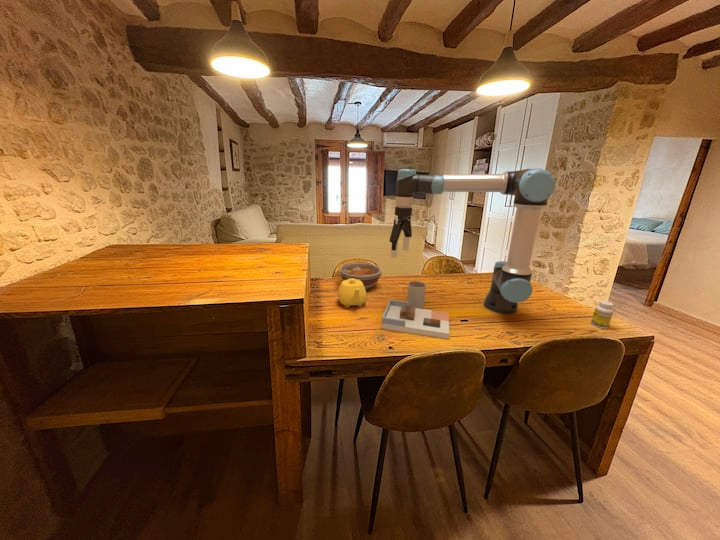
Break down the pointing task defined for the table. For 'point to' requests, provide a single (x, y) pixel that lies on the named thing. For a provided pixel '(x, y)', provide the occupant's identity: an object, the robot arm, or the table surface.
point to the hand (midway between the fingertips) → (399, 253)
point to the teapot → (352, 293)
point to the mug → (416, 294)
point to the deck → (416, 321)
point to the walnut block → (407, 312)
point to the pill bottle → (602, 314)
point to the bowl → (361, 273)
